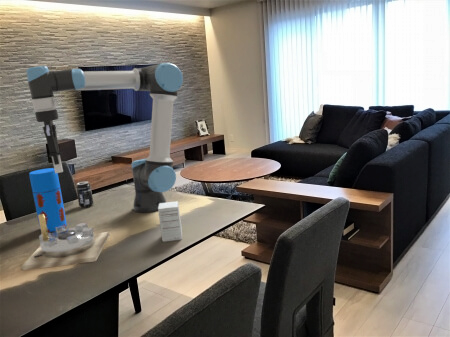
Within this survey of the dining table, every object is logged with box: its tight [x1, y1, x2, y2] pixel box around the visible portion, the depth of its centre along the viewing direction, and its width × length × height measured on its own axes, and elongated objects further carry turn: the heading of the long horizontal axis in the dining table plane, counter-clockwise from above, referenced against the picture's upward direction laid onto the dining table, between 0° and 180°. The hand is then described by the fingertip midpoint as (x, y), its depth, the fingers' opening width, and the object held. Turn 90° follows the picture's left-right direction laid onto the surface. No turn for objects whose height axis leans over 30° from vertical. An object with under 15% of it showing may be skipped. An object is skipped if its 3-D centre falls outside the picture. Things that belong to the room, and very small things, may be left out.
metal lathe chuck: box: [37, 214, 95, 257], centre depth 150 cm, size 18×18×14 cm
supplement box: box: [157, 200, 183, 242], centre depth 154 cm, size 7×7×13 cm
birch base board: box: [21, 231, 110, 271], centre depth 151 cm, size 24×24×2 cm
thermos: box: [28, 167, 67, 233], centre depth 177 cm, size 11×11×25 cm
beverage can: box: [75, 180, 94, 209], centre depth 207 cm, size 7×7×12 cm
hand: (59, 172), depth 159 cm, fingers closed
